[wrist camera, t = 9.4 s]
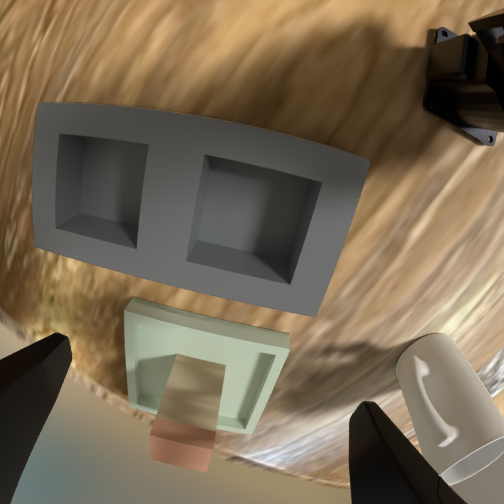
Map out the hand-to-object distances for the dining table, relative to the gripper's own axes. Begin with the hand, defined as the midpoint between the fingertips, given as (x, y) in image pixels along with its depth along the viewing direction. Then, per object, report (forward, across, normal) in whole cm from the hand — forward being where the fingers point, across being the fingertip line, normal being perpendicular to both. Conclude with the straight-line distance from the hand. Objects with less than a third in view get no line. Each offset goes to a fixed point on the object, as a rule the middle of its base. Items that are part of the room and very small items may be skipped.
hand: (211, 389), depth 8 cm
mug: (+13, -17, +7) cm, 22 cm away
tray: (+12, +1, +13) cm, 18 cm away
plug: (+12, +1, +13) cm, 18 cm away
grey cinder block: (+12, +4, -2) cm, 13 cm away
